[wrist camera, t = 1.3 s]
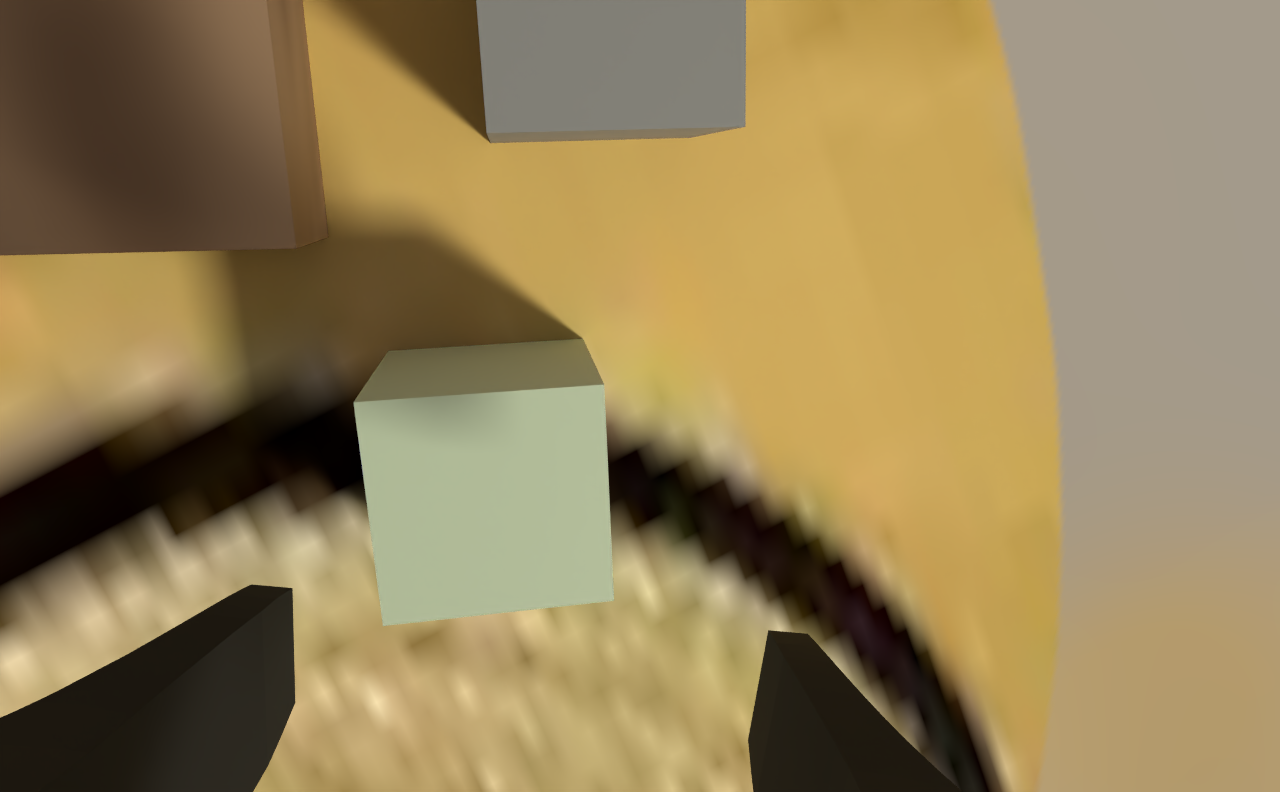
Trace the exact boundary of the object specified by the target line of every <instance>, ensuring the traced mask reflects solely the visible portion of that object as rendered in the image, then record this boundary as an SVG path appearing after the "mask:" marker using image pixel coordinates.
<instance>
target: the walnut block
mask: <svg viewBox="0 0 1280 792" xmlns="http://www.w3.org/2000/svg"><path fill="white" fill-rule="evenodd" d="M328 237H329V236H328V227H327V218H326V209H325V200H324V191H323V181H322V172H321V163H320V154H319V145H318V136H317V127H316V118H315V109H314V100H313V91H312V81H311V72H310V63H309V54H308V45H307V36H306V27H305V18H304V9H303V0H0V255H37V254H80V253H124V252H167V251H211V250H255V249H297V248H299V247H302V246H305V245H308V244H311V243H313V242H316V241H319V240H322V239H325V238H328Z"/></svg>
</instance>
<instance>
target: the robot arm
mask: <svg viewBox="0 0 1280 792" xmlns="http://www.w3.org/2000/svg"><path fill="white" fill-rule="evenodd" d="M294 704H295V675H294V635H293V594H292V588H284V587H273V586H261V585H249V586H247V587H245V588H243V589H241V590H239V591H237V592H236V593H234V594H232V595H230V596H228V597H226V598H225V599H223V600H221V601H219V602H218V603H216V604H214V605H212V606H211V607H209V608H207V609H206V610H204V611H202V612H200V613H199V614H197V615H195V616H194V617H192V618H190V619H188V620H187V621H185V622H183V623H182V624H180V625H178V626H176V627H175V628H173V629H171V630H169V631H168V632H166V633H164V634H162V635H161V636H159V637H157V638H155V639H154V640H152V641H150V642H148V643H147V644H145V645H143V646H141V647H140V648H138V649H136V650H134V651H133V652H131V653H129V654H127V655H125V656H124V657H122V658H120V659H118V660H116V661H114V662H112V663H110V664H108V665H106V666H104V667H103V668H101V669H99V670H97V671H95V672H93V673H91V674H89V675H87V676H85V677H83V678H82V679H80V680H78V681H76V682H74V683H72V684H70V685H68V686H66V687H64V688H63V689H61V690H59V691H57V692H55V693H53V694H51V695H49V696H47V697H44V698H42V699H40V700H38V701H36V702H34V703H32V704H30V705H28V706H25V707H23V708H21V709H19V710H17V711H15V712H13V713H10V714H8V715H6V716H3V717H1V718H0V792H253V791H254V789H255V787H256V786H257V784H258V782H259V780H260V779H261V777H262V775H263V773H264V772H265V770H266V768H267V766H268V764H269V762H270V760H271V758H272V755H273V753H274V751H275V749H276V747H277V744H278V742H279V740H280V738H281V735H282V733H283V731H284V728H285V726H286V723H287V721H288V719H289V716H290V714H291V711H292V709H293V707H294ZM748 743H749V753H750V764H751V774H752V783H753V791H754V792H963V791H962V790H960V789H959V788H958V787H957V786H956V785H954V784H953V783H952V782H951V781H950V780H949V779H948V778H946V777H945V776H944V775H943V774H942V773H941V772H940V771H938V770H937V769H936V768H935V767H934V766H933V765H932V764H931V763H930V762H929V761H928V760H927V759H926V758H925V757H924V756H923V755H921V754H920V753H919V752H918V751H917V750H916V749H915V748H914V747H913V746H912V745H911V744H910V743H909V742H908V741H907V740H906V739H905V738H904V737H903V736H902V735H901V734H900V733H899V732H898V731H897V730H896V729H895V728H894V727H893V726H892V725H891V724H890V723H889V722H888V721H887V720H886V719H885V718H884V717H883V716H882V715H881V714H880V713H879V712H878V711H877V710H876V709H875V708H874V707H873V705H872V704H871V703H870V702H869V701H868V700H867V699H866V698H865V697H864V696H863V695H862V694H861V692H860V691H859V690H858V689H857V688H856V687H855V686H854V685H853V684H852V683H851V681H850V680H849V679H848V678H847V677H846V676H845V675H844V674H843V672H842V671H841V670H840V669H839V668H838V667H837V666H836V665H835V663H834V662H833V661H832V660H831V659H830V658H829V657H828V656H827V654H826V653H825V652H824V651H823V650H822V649H821V648H820V647H819V645H818V644H817V643H816V642H815V641H814V640H813V639H812V638H811V637H810V636H809V635H808V634H803V633H792V632H780V631H769V630H768V636H767V641H766V646H765V652H764V657H763V663H762V668H761V673H760V679H759V684H758V690H757V695H756V700H755V706H754V711H753V717H752V722H751V727H750V733H749V738H748Z"/></svg>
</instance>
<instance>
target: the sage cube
mask: <svg viewBox="0 0 1280 792" xmlns="http://www.w3.org/2000/svg"><path fill="white" fill-rule="evenodd" d="M354 410H355V417H356V425H357V432H358V440H359V448H360V455H361V463H362V470H363V478H364V485H365V493H366V501H367V508H368V516H369V523H370V531H371V538H372V546H373V553H374V561H375V569H376V576H377V584H378V591H379V599H380V606H381V614H382V622H383V626H387V625H396V624H405V623H414V622H423V621H433V620H442V619H451V618H460V617H469V616H478V615H487V614H497V613H506V612H515V611H524V610H533V609H542V608H552V607H561V606H570V605H579V604H588V603H597V602H606V601H614V591H613V569H612V547H611V525H610V503H609V481H608V459H607V437H606V415H605V393H604V383H603V381H602V379H601V377H600V375H599V372H598V370H597V368H596V366H595V364H594V362H593V359H592V357H591V355H590V353H589V351H588V349H587V346H586V344H585V342H584V340H583V339H568V340H552V341H536V342H520V343H505V344H489V345H473V346H457V347H441V348H425V349H409V350H393V351H388V352H387V353H386V355H385V356H384V358H383V359H382V361H381V362H380V364H379V365H378V367H377V368H376V370H375V371H374V373H373V374H372V376H371V377H370V379H369V380H368V382H367V383H366V385H365V386H364V387H363V389H362V390H361V392H360V393H359V395H358V396H357V398H356V399H355V401H354Z"/></svg>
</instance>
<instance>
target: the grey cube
mask: <svg viewBox="0 0 1280 792" xmlns="http://www.w3.org/2000/svg"><path fill="white" fill-rule="evenodd" d="M476 4H477V17H478V30H479V42H480V55H481V68H482V81H483V94H484V107H485V119H486V132H487V135H488V138H489V141H490V143H509V142H547V141H585V140H622V139H660V138H691V137H696V136H701V135H706V134H711V133H716V132H721V131H726V130H731V129H737V128H742V127H745V78H746V0H476Z"/></svg>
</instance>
